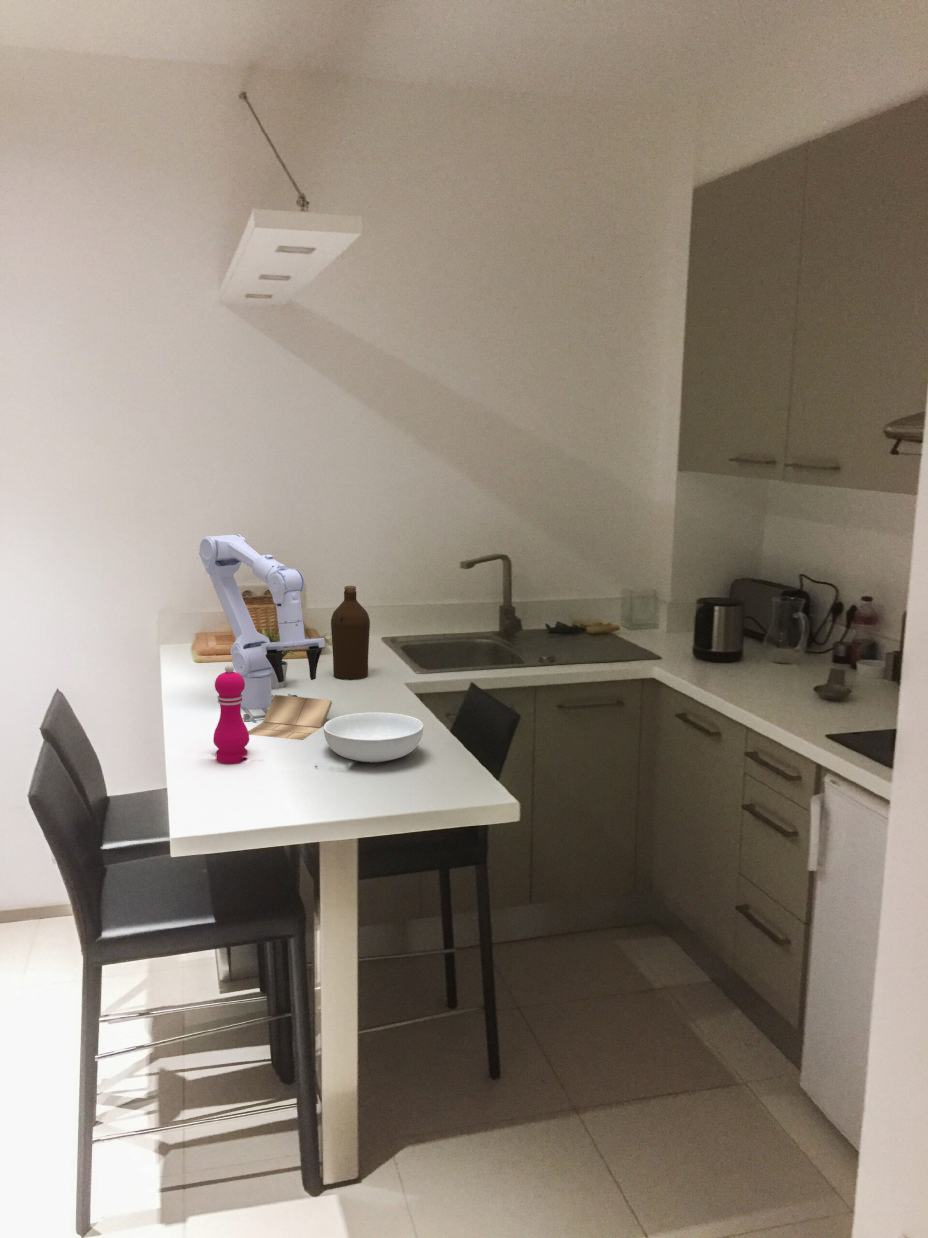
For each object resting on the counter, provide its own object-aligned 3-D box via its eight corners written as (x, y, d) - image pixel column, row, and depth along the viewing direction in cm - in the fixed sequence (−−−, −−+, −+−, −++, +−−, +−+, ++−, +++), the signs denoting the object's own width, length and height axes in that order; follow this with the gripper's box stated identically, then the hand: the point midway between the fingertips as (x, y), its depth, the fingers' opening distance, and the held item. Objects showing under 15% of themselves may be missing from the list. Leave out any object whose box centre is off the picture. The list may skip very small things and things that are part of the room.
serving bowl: (433, 745, 221) (433, 714, 219) (408, 776, 200) (409, 743, 199) (342, 737, 225) (342, 707, 223) (309, 768, 205) (308, 735, 203)
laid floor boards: (243, 739, 222) (243, 733, 222) (262, 727, 231) (262, 722, 231) (302, 745, 219) (302, 739, 219) (319, 733, 227) (319, 728, 227)
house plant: (297, 694, 259) (296, 632, 256) (243, 693, 260) (241, 631, 257) (306, 681, 273) (305, 621, 270) (255, 680, 274) (254, 620, 271)
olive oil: (371, 680, 276) (371, 589, 271) (332, 681, 274) (331, 589, 269) (368, 671, 286) (368, 583, 281) (330, 671, 284) (329, 583, 280)
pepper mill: (218, 766, 204) (215, 670, 201) (210, 756, 211) (207, 662, 207) (254, 761, 208) (251, 666, 204) (244, 751, 214) (242, 659, 210)
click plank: (264, 724, 232) (262, 721, 231) (276, 698, 237) (275, 694, 236) (321, 730, 228) (319, 727, 227) (332, 703, 234) (330, 699, 233)
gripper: (254, 626, 229) (261, 685, 230) (316, 621, 227) (323, 680, 228) (264, 623, 236) (271, 681, 237) (324, 618, 234) (331, 676, 235)
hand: (297, 680), depth 233 cm, fingers open, 7 cm apart
